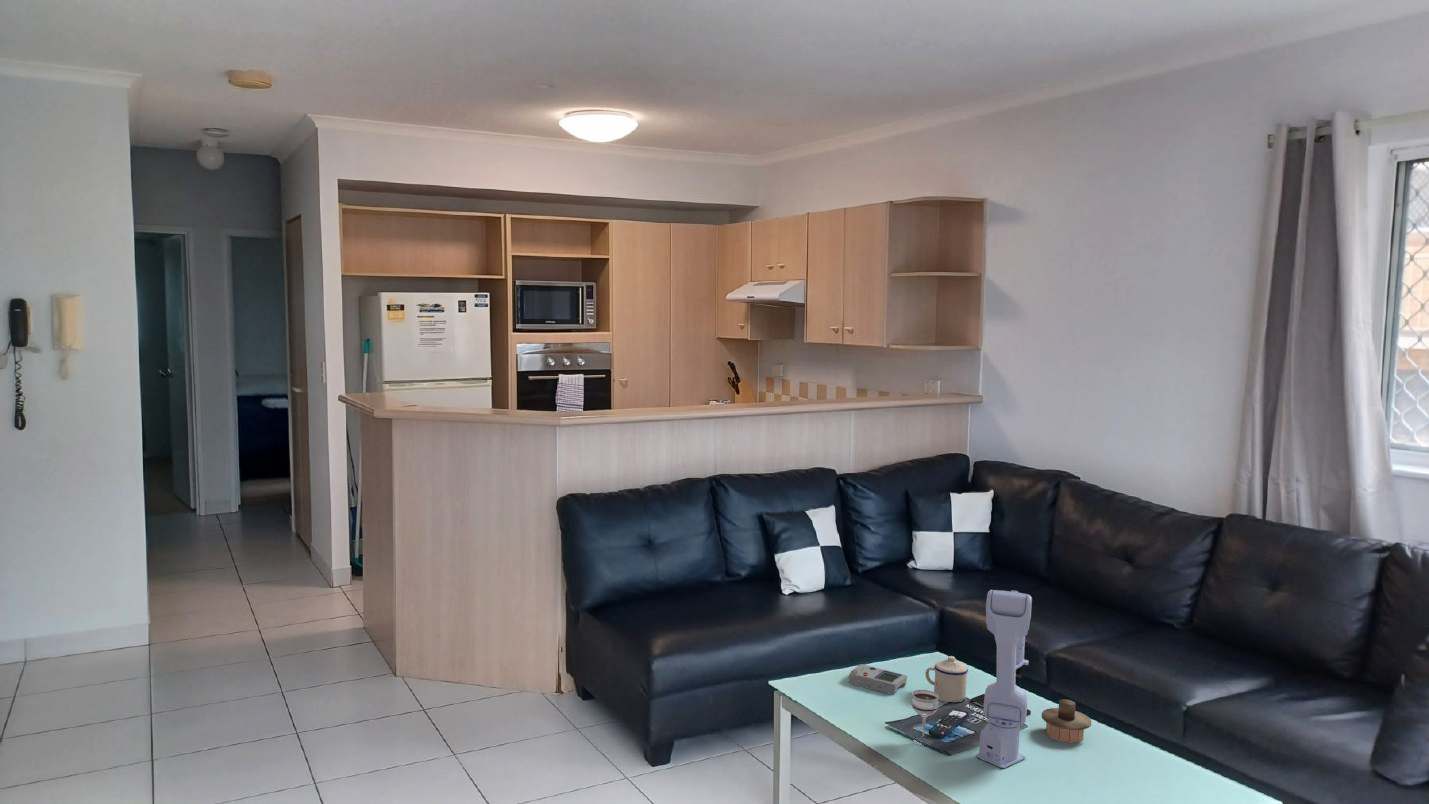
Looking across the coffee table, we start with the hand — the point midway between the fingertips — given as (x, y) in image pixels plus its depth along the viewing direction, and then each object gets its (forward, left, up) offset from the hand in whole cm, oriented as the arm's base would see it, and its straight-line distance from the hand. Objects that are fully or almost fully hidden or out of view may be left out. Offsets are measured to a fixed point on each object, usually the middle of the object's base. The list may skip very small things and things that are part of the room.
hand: (1010, 693), depth 247 cm
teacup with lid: (+5, +24, -10) cm, 27 cm away
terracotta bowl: (+10, -10, -10) cm, 17 cm away
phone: (+11, +10, -10) cm, 18 cm away
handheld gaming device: (-5, +41, -10) cm, 42 cm away
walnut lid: (+10, -10, -6) cm, 15 cm away
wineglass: (-23, +9, -10) cm, 27 cm away
